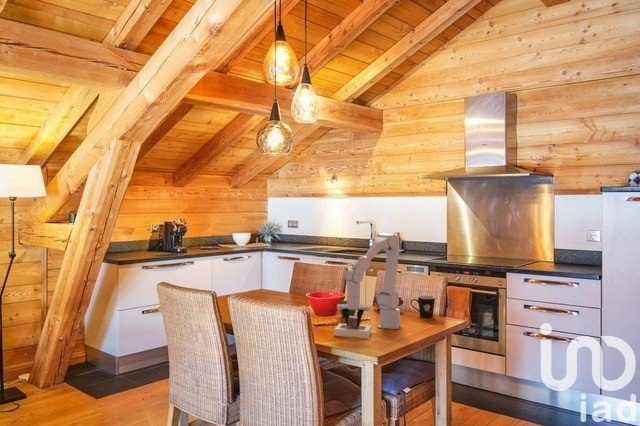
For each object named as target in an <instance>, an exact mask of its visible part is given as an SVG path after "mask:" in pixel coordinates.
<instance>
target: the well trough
mask: <svg viewBox="0 0 640 426" xmlns="http://www.w3.org/2000/svg"><path fill="white" fill-rule="evenodd" d="M372 327H373V326H372V325H366V324H360V326H359V329H348V326H347V323H338V324H337V326H336V327H334V329H333V331H334V332H333V336H337V337H348V338H360V339H368V338H369V337H370V335H371V334H372V331H373V328H372Z"/></svg>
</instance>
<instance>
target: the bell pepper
mask: <svg viewBox="0 0 640 426" xmlns="http://www.w3.org/2000/svg"><path fill="white" fill-rule="evenodd" d="M339 304H347V299H346V300H341V301H340V303H339ZM339 310H340V311H339V312H340V314H341V316H342V317H343V318H344V315H343V313H342V311H343V309H339ZM356 313H357V310H350V314H349V316H356V315H355V314H356Z"/></svg>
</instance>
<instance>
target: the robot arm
mask: <svg viewBox="0 0 640 426" xmlns="http://www.w3.org/2000/svg"><path fill="white" fill-rule="evenodd" d="M399 245H400V238H399V237H398V235H396V234H395V233H383V232H379V233H377V234H376V236H374V238H373V243H372V245H371V246H370V247H369V249H368V250H367V251H366V253H365V254H364V255H362V256H361V255H360V256H359V257H358V258H357V261H356V262H355V263H354V264H353V265H352V266H351V268H348V269H347V270H346V271H345V273H344V275H343V276H344V279H345V284H346V292H347V293H346V300H347V304H340V303H338V304H336V309H337V310H340V309H343V311H342V313H343V315H344V317H345V318H344V317H343V318H344V319H345V322H346V323H345V324H347V326H348V317H349V314H350V310H356V316H357V327H359V326H360V325H361V320H362V317H363V315H364V312H370V309H371V306H370V305H362V304H360V303H361V301H360V299H361V295H360V294H361V289H360V288H361V282H362V280H363V278H364V274H365V272H366V271H367V270H368V268H370V266H371V260H373V259H374V257H376V255H377V254H378V253H379V252H380V251H382V250H384V252H385V253H386V259H385V268H384V277H383V285H382V287H381V288H379V290H378V294H377V295H376V297H377V303H378V305H379V307H378V308H379V325H378V326H377V328H378V329H380V328H381V329H390V330H391V329H393V330H398V329H399V328H400V326H401V309H400V308H398V307H399V306H398V304H399V298H398V297H399V292H398V291H397V290H396V280H397V271H398V263H399V255H400V249H399ZM386 293H389V294H386ZM378 305H377V306H378ZM397 306H398V307H397Z"/></svg>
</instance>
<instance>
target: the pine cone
mask: <svg viewBox="0 0 640 426" xmlns="http://www.w3.org/2000/svg"><path fill="white" fill-rule="evenodd" d="M386 294H389V293H386ZM398 298H399V304H398V306H397V307H396V308H398V307H400V306H403V305H404V300H403V299H402V298H401V297H400V296H398ZM373 299H374V300H373V301H372V302H373V303H376V305H377V307H378V308H380V307H379V305H378V303H377V296H376V297H374V298H373Z"/></svg>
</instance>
